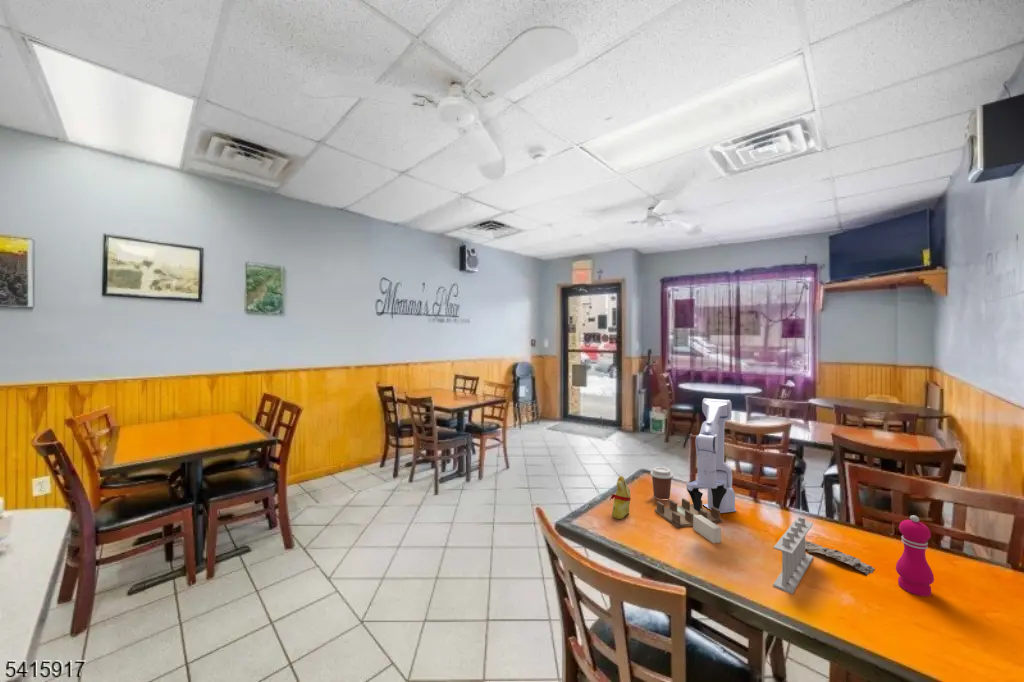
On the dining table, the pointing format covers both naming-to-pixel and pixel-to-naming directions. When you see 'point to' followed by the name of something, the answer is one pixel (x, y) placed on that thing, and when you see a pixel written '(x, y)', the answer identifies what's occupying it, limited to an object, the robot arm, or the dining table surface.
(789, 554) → the test tube rack
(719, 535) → the cream rectangular block
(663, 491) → the coffee cup
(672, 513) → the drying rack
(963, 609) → the dining table surface
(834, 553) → the stone fragment
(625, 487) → the chocolate bunny
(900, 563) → the pepper mill
